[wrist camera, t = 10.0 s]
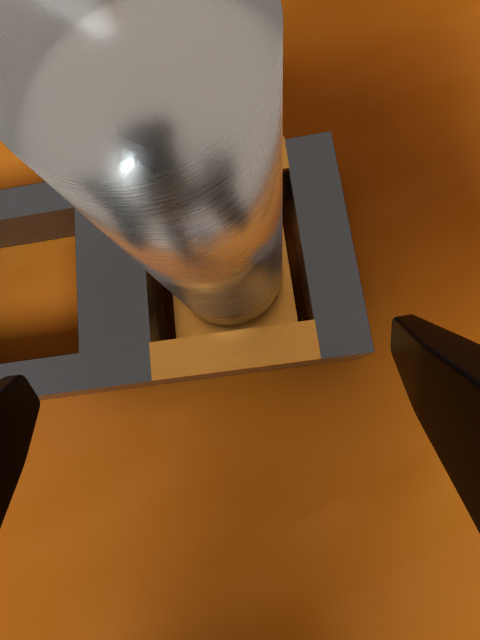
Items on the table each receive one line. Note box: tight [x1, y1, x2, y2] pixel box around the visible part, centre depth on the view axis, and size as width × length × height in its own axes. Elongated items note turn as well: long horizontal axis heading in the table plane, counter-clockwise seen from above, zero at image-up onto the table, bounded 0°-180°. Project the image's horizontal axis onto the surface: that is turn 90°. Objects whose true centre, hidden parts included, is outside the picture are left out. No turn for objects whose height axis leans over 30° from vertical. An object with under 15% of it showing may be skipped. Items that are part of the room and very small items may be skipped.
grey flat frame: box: [0, 131, 374, 400], centre depth 17 cm, size 20×10×3 cm, turn 97°
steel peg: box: [0, 0, 283, 325], centre depth 12 cm, size 5×5×12 cm
